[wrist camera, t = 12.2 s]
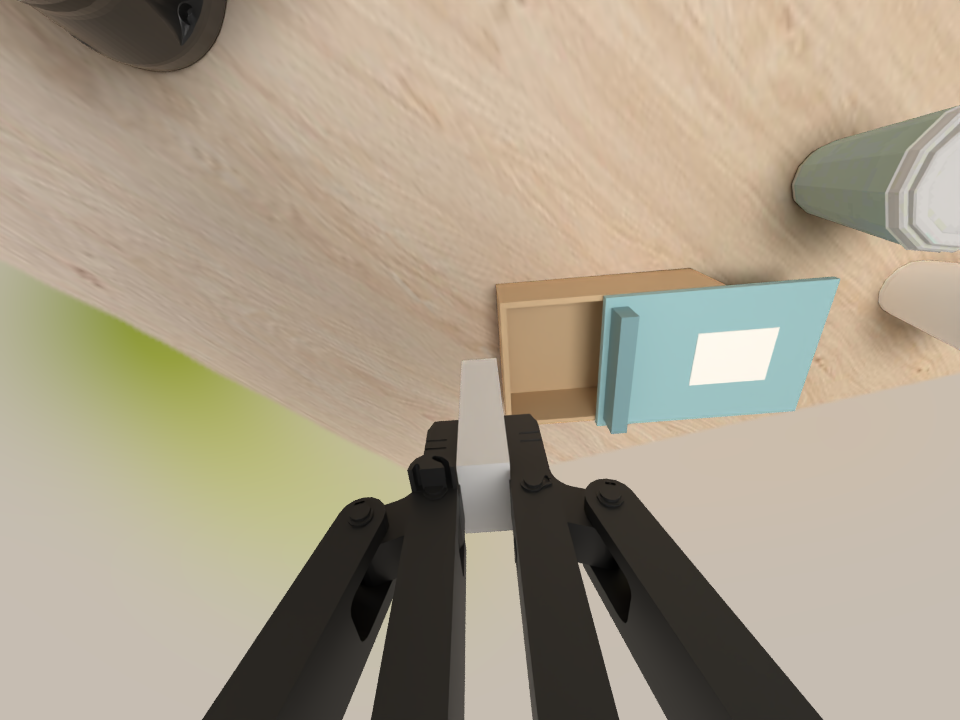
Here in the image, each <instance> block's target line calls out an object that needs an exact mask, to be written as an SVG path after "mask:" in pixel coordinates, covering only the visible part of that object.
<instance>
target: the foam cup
mask: <svg viewBox="0 0 960 720" xmlns="http://www.w3.org/2000/svg"><path fill="white" fill-rule="evenodd" d="M878 303H879V304H880V306H881V307H882V309H883V310H884V311H887V312H888V313H889V314H891V315H893V316H895V317H897V318H899V319H901V320H903V321H905V322H906V323H908V324H910V325H912V326H914V327H916V328H918V329H920V330H922V331H924V332H926V333H927V334H929V335H931V336H933V337H935V338H937V339H939V340H941V341H943V342H945V343H947V344H948V345H950V346H952V347H954V348H956V349H958V350H960V263H953V262H940V261H924V260H922V261H915V262H910V263H908V264H906V265H904V266H902V267H900V268H899V269H897V270H896V271H895V272H894V273H893V274H891V275H890V276H889V277H888V278H887V279H886V280H885V282H884V284H883V286H882V288H881V289H880V291H879V301H878Z"/></svg>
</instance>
